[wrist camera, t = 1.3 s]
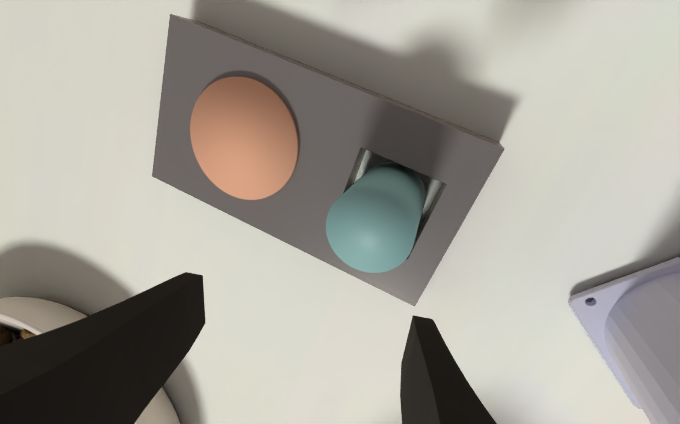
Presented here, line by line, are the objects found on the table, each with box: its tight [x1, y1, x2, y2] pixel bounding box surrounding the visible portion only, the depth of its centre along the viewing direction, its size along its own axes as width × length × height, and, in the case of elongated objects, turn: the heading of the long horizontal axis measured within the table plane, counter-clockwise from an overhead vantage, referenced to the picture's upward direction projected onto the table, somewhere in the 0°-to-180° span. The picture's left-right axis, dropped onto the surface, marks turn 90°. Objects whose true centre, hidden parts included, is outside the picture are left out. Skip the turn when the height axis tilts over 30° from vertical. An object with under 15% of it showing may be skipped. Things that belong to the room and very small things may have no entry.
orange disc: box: [190, 77, 299, 200], centre depth 20 cm, size 7×7×1 cm
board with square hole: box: [152, 14, 504, 306], centre depth 20 cm, size 19×10×2 cm, turn 70°
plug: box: [326, 162, 425, 273], centre depth 18 cm, size 4×4×6 cm
